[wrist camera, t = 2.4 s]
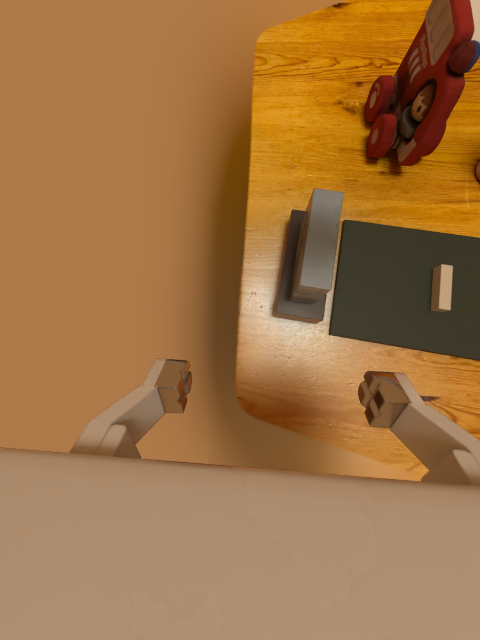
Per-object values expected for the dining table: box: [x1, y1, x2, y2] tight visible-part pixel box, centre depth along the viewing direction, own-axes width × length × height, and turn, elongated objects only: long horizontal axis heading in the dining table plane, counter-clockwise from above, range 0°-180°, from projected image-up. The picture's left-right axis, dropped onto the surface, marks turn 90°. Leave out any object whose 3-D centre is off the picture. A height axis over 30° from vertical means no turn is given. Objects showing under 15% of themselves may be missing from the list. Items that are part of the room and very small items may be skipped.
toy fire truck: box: [365, 0, 480, 166], centre depth 25 cm, size 7×12×10 cm, turn 179°
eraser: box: [273, 189, 343, 324], centre depth 24 cm, size 12×5×8 cm, turn 170°
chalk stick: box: [431, 264, 453, 312], centre depth 26 cm, size 5×1×1 cm, turn 170°
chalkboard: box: [329, 220, 480, 361], centre depth 26 cm, size 14×28×1 cm, turn 80°
